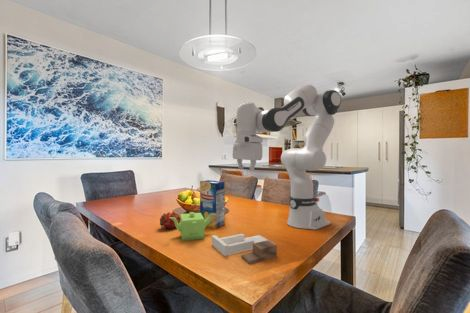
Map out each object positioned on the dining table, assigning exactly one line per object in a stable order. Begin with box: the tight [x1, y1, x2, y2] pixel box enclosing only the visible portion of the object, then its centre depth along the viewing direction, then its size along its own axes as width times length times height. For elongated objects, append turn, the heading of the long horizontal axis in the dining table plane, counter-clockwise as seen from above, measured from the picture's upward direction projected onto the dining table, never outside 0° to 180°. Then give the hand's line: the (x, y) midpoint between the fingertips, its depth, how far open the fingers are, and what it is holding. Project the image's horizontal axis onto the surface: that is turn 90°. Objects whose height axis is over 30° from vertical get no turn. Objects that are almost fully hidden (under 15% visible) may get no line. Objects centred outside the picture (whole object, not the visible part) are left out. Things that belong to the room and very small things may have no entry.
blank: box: [241, 239, 278, 265], centre depth 80 cm, size 11×5×4 cm, turn 119°
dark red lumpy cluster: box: [159, 211, 181, 230], centre depth 115 cm, size 8×8×12 cm
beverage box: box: [199, 179, 226, 229], centre depth 120 cm, size 7×11×22 cm, turn 54°
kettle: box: [170, 211, 211, 242], centre depth 101 cm, size 15×14×11 cm
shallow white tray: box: [211, 233, 274, 257], centre depth 91 cm, size 22×11×5 cm, turn 119°
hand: (246, 169), depth 106 cm, fingers open, 8 cm apart
